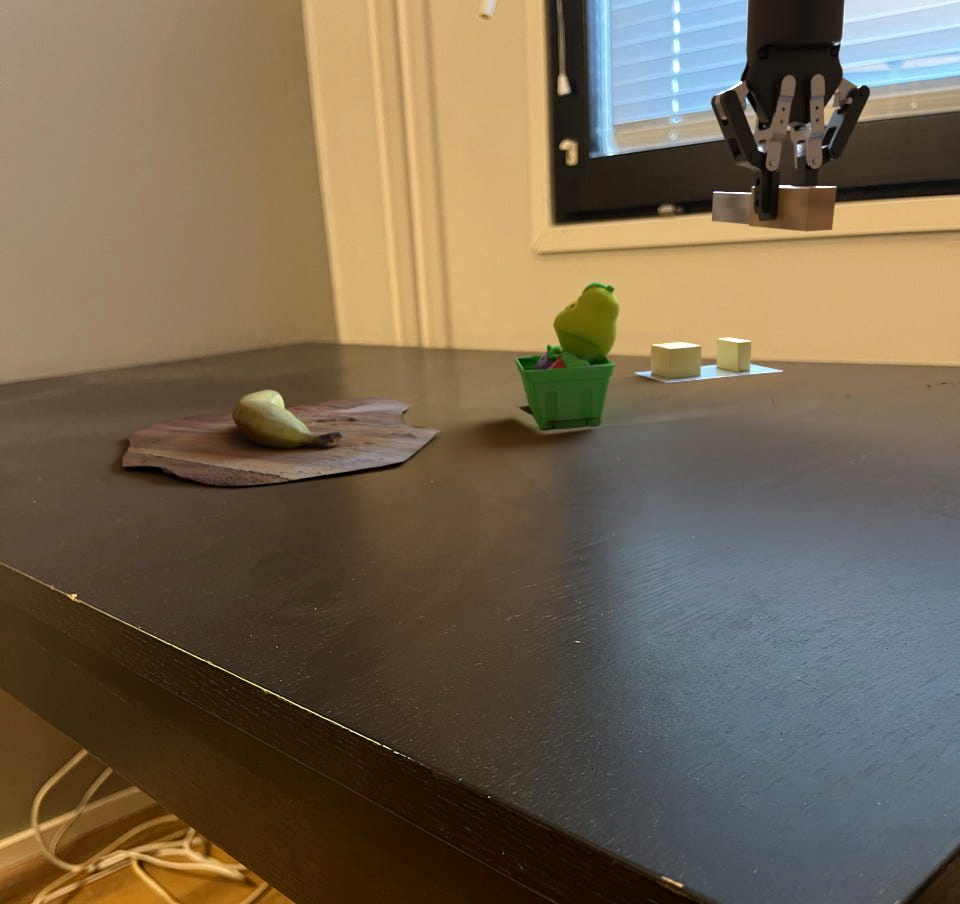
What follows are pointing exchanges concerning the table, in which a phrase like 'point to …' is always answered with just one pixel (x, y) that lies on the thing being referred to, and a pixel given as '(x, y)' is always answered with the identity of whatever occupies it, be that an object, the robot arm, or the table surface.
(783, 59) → the robot arm
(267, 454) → the cutting board
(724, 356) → the butter pat
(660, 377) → the butter dish
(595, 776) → the table surface
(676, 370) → the butter stick
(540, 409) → the fruit basket
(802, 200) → the knife
